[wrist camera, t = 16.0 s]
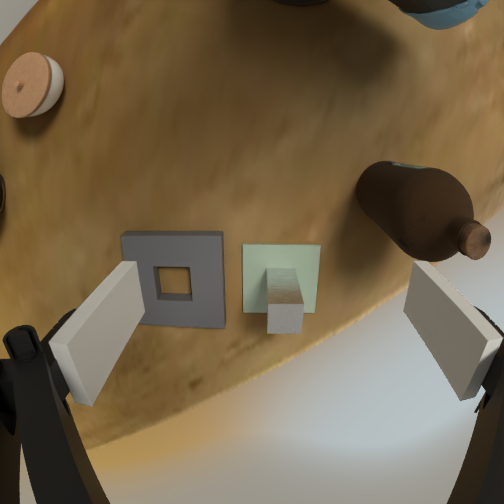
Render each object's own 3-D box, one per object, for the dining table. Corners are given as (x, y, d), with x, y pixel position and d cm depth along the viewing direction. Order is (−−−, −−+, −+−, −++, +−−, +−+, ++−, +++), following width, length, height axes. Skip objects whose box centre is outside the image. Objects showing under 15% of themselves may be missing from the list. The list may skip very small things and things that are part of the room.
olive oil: (395, 234, 49) (481, 311, 25) (341, 206, 47) (410, 273, 24) (424, 177, 45) (530, 218, 22) (371, 144, 44) (467, 160, 21)
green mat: (242, 243, 50) (242, 244, 49) (320, 244, 50) (320, 245, 49) (243, 310, 54) (243, 312, 54) (313, 311, 54) (314, 312, 53)
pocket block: (126, 231, 50) (120, 235, 47) (223, 230, 49) (221, 235, 47) (139, 316, 55) (134, 323, 53) (226, 320, 55) (224, 328, 53)
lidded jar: (85, 80, 41) (53, 73, 32) (48, 129, 44) (14, 132, 35) (54, 47, 38) (22, 38, 30) (20, 95, 41) (-14, 94, 32)
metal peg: (266, 267, 51) (268, 303, 40) (295, 267, 51) (304, 304, 40) (266, 293, 52) (267, 333, 42) (293, 293, 52) (301, 333, 41)
